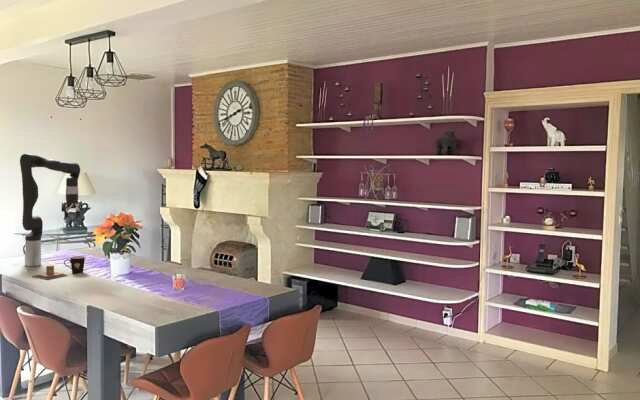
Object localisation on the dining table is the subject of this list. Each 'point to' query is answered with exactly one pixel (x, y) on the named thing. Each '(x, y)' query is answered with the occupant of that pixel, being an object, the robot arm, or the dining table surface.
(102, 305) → the dining table surface
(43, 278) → the mat
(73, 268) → the coffee mug
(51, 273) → the lid
